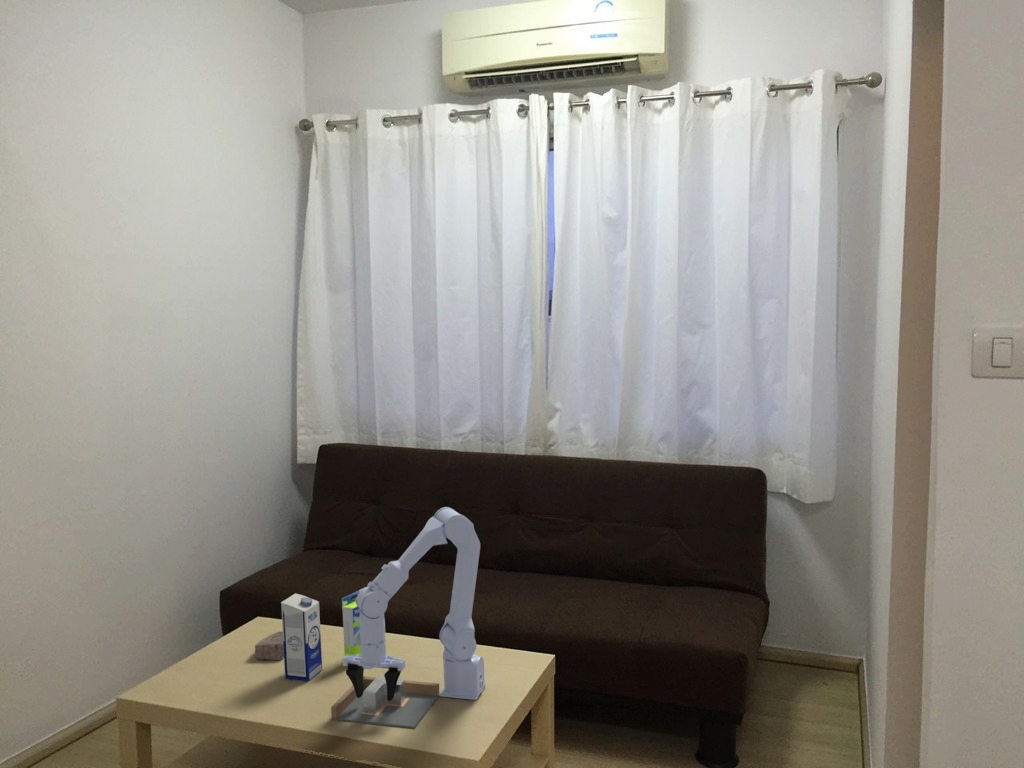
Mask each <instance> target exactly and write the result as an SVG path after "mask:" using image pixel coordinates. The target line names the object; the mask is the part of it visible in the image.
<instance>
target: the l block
mask: <svg viewBox="0 0 1024 768" xmlns="http://www.w3.org/2000/svg"><path fill="white" fill-rule="evenodd" d="M375 678H376V679H375V680H374V681H373V682H372V683H371V684H370V685H369V686H368V687H367V688H366V689H365V690H364V691H363V704H364V713H367V714H377V713H378V712H379V710H380V709H381V708H382V707H383V706H384V705H385V704H389V705H399V706H401V705H402V704H403V703H404V702H405V700H406V687H405V680H406V679H405V678H398V681H397V684H396V688H395V693H394V698H393V699H392V700H391V701H388V699H387V685H386V680H385V677H384V676H376V677H375Z"/></svg>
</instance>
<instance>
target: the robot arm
mask: <svg viewBox="0 0 1024 768" xmlns="http://www.w3.org/2000/svg"><path fill="white" fill-rule="evenodd" d="M447 539H448V540H449V541H450V542H452V544H453V545H454V546H455V547H456V549H457V551H456V552H457V553H456V560H455V568H454V574H453V575H454V577H453V584H452V592H451V598H450V599H451V600H450V605H449V606H450V607H449V613H448V614H447V615H446V616H445V618H444V623H443V625H442V627H441V629H440V631H439V634H438V635H439V636H438V637H439V641H440V643H441V645H443V646H444V647H443V648H444V649H443V653H442V661H443V663H442V664H443V666H442V667H443V687H442V688H441V690H439V696H438V697H443V698H454V699H463V700H473V701H475V700H477V699H478V698H479V696H480V695H481V693H482V692H483V690H484V689H485V687H486V682H485V662H484V661H485V660H484V658H483V657H482V656H480V655H476V654H475V653H476V649H477V641H476V638H475V625H474V623H473V622H474V621H473V619H472V615H473V606H474V600H475V591H476V583H477V578H478V577H477V575H478V569H479V568H478V567H479V560H480V559H479V558H480V553H481V542H480V539H479V537H478V534H477V533H476V530H475V527H474V523H473V522H472V521H471V520H470V519H469V518H467V517H466V516H465V515H463V514H460V513H459V512H457V511H456V510H455V509H454V508H452V507H449V506H444V507H441V508H440V509H437V511H436V512H435V513H434V515H433V516H431V517H430V518H429V519H428V520H427V521H426V524H425V526H424V527H423V529H422V530H421V531H420V532H419V534H418V535H417V536H416V537H415V539H413V541H412V542H411V543H410V545H409V546H408V547H407V549H406V550H405V551H404V552H403V553H402V555H401V556H400V557H399V558H398V560H391V561H389V562H388V563H387V564H383V565H382V567H381V569H382V570H381V571H380V572H379V573H378V575H377V576H376V577H375V578H374V579H373V580H372V581H369V582H368V583H367V586H365V587H366V588H365V587H363V588H361V589H362V590H361V589H360V590H361V591H360V592H359V593H358V594H357V595H356V597H357V599H355V601H356V604H357V606H358V607H359V608H360V609H361V610H360V611H359V612H360V622H359V624H360V645H361V654H359V655H346V656H345V655H344V657H343V658H342V661H343V663H342V664H343V667H347V668H346V670H345V675H346V676H347V678H349V680H350V682H351V684H352V685H353V686H354V689H355V692H356V695H357V698H360V697H361V696H362V695H363V691H364V686H363V676H364V670H372V669H374V668H375V669H388V670H387V671H386V672H385V673H383V674H384V675H383V677H385V680H386V685H387V699H388V701H391V700H392V699H393V698H394V693H395V688H396V684H397V681H398V679H400V675H401V673H402V672H403V671H404V670H405V668H406V660H405V659H403V658H398V657H395V656H391V655H387V640H386V621H385V620H386V619H385V613H386V611H387V608H388V602H389V601H390V600H391V599H392V597H394V596H395V594H396V593H397V592H398V591H399V589H401V588H402V586H403V585H404V584H405V583H406V582H407V581H408V580H409V575H410V574H409V571H410V570H411V569H412V568H413V566H415V565H416V564H417V563H418V561H419V560H420V559H422V557H423V556H425V554H426V553H427V552H428V551H429V550H430V549H431V548H432V547H433V546H440V545H447V544H448V541H447Z"/></svg>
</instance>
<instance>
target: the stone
mask: <svg viewBox="0 0 1024 768" xmlns="http://www.w3.org/2000/svg"><path fill="white" fill-rule="evenodd" d="M254 654H255V655H254V657H255V658H256V659H257V660H271V661H277V660H278V661H281V660H284V646H283V630H281V631H277V632H276V631H275V632H274V633H271V634H269V635H267V636H266V637H263V638H262V639H261V640H259V641H258V642H257V643H256V644H255V645H254Z"/></svg>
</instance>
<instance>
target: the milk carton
mask: <svg viewBox="0 0 1024 768" xmlns="http://www.w3.org/2000/svg"><path fill="white" fill-rule="evenodd" d="M280 604H281V607H280V608H281V624H282V626H281V627H282V631H283V646H284V658H283V663H284V679H286V680H294V681H303V682H310V681H312V679H313V678H314V677H316V676H317V675H318V674H319V673H320V672H322V671H323V659H322V658H323V655H322V654H323V653H322V639H321V637H322V636H321V620H320V618H321V617H320V601H318V600H316V599H313V598H310V597H308V596H306V595H303V594H299V593H296V592H295V593H294V594H292V595H290V596H289V597H288V598H286V599H284V600H282V601H281V602H280ZM321 670H322V671H321Z"/></svg>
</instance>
